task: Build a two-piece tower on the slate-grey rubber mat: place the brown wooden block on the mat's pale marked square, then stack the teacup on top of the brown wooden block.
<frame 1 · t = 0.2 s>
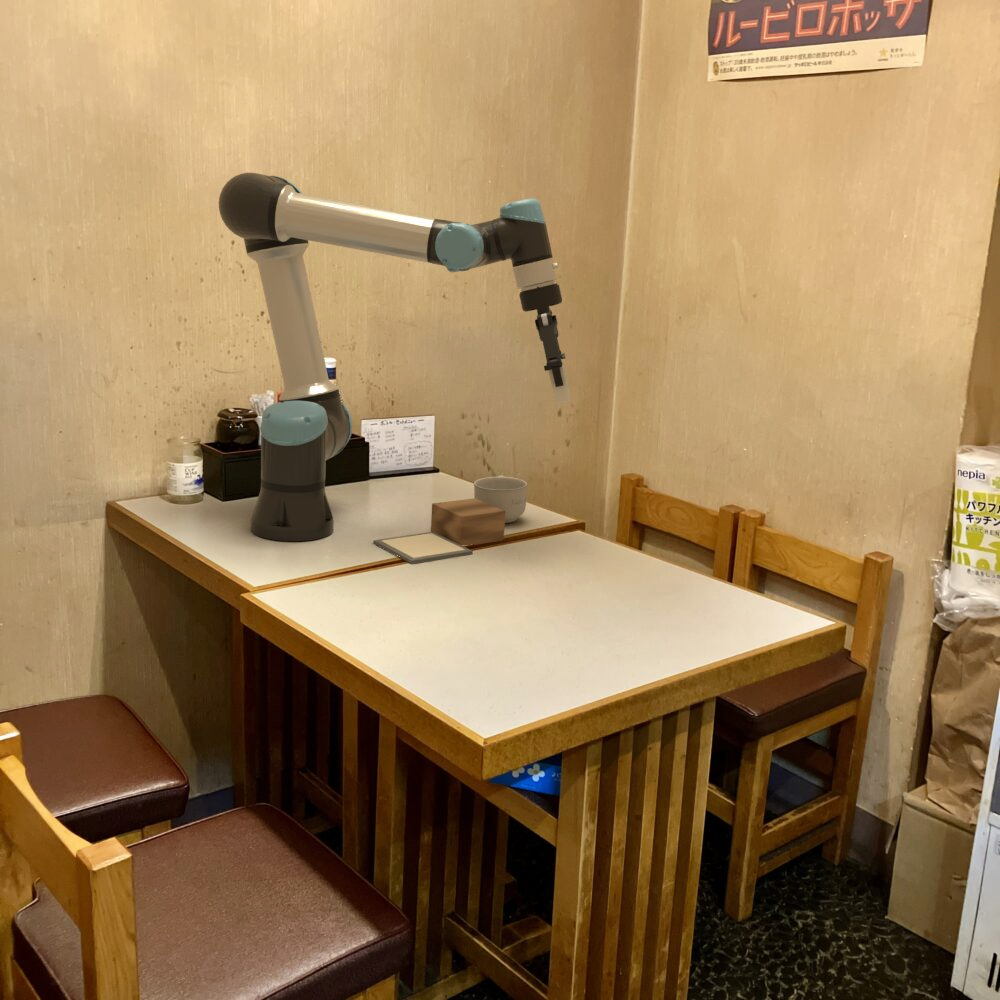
hand: (563, 399, 188), 27 cm above the table, tool tilted 15°, fingers open, 13 cm apart
brown wooden block: (466, 537, 191), on the table
mat: (422, 548, 181), on the table
teacup: (499, 518, 205), on the table
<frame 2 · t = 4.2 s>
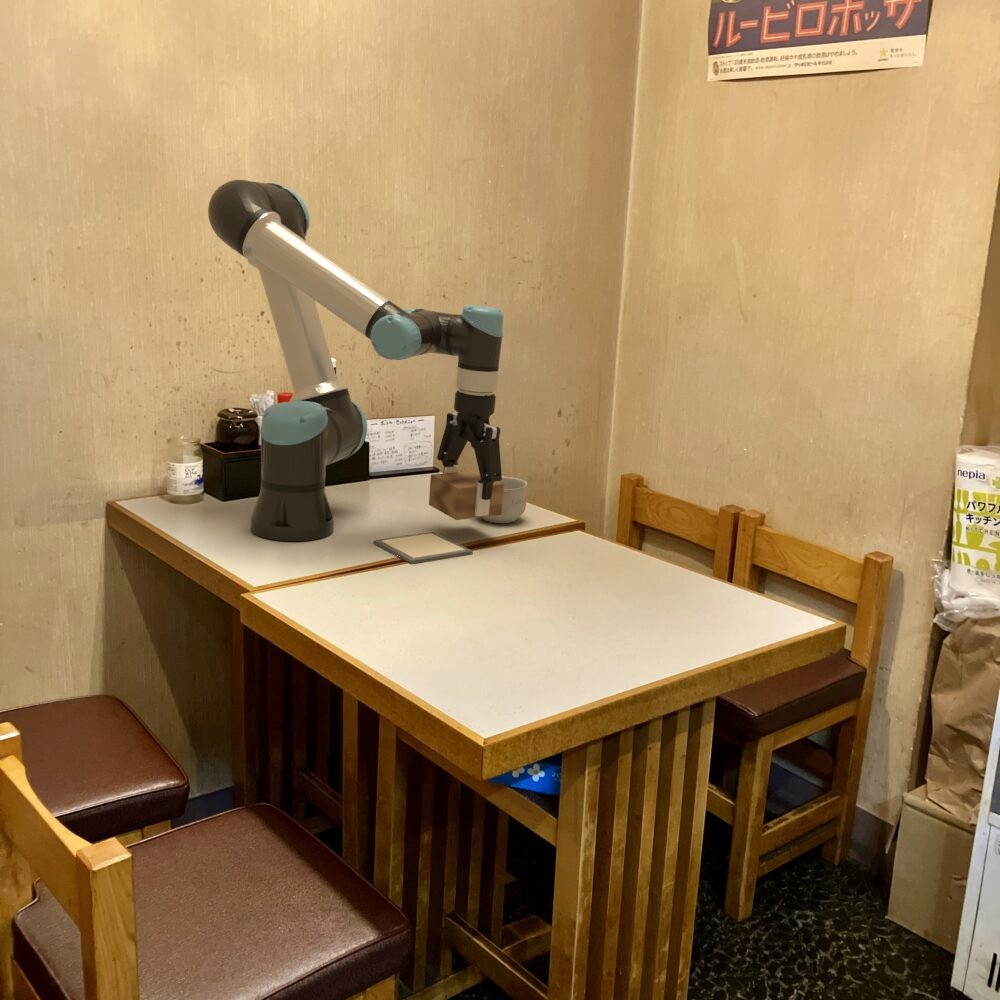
hand: (464, 507, 189), 6 cm above the table, tool pointing down, fingers closed on brown wooden block, 10 cm apart
brown wooden block: (464, 509, 189), point 5 cm above the table, touching gripper
everything else where it was.
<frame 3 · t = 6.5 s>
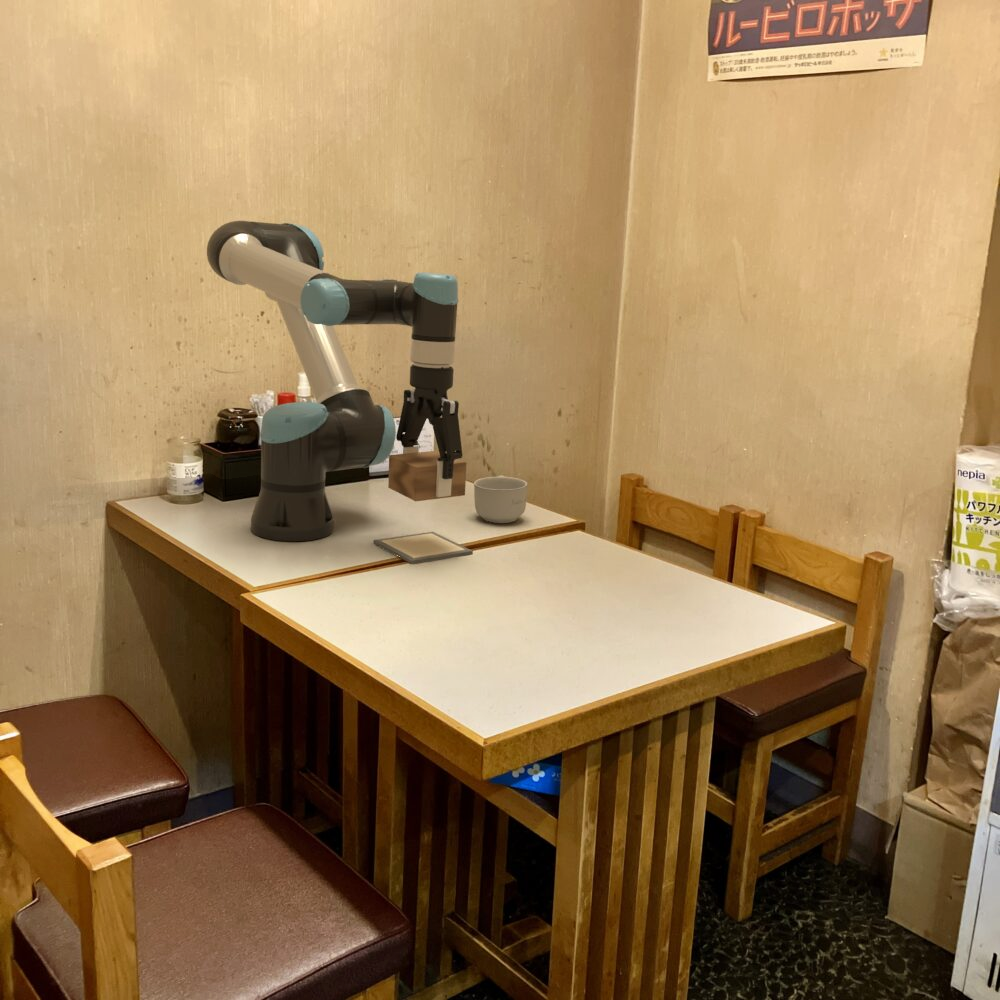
hand: (426, 488, 178), 11 cm above the table, tool pointing down, fingers closed on brown wooden block, 10 cm apart
brown wooden block: (426, 491, 178), point 11 cm above the table, touching gripper
everything else where it was.
when the fingers open (2 cm above the table, at t = 8.7 s): brown wooden block stays where it is, resting on mat.
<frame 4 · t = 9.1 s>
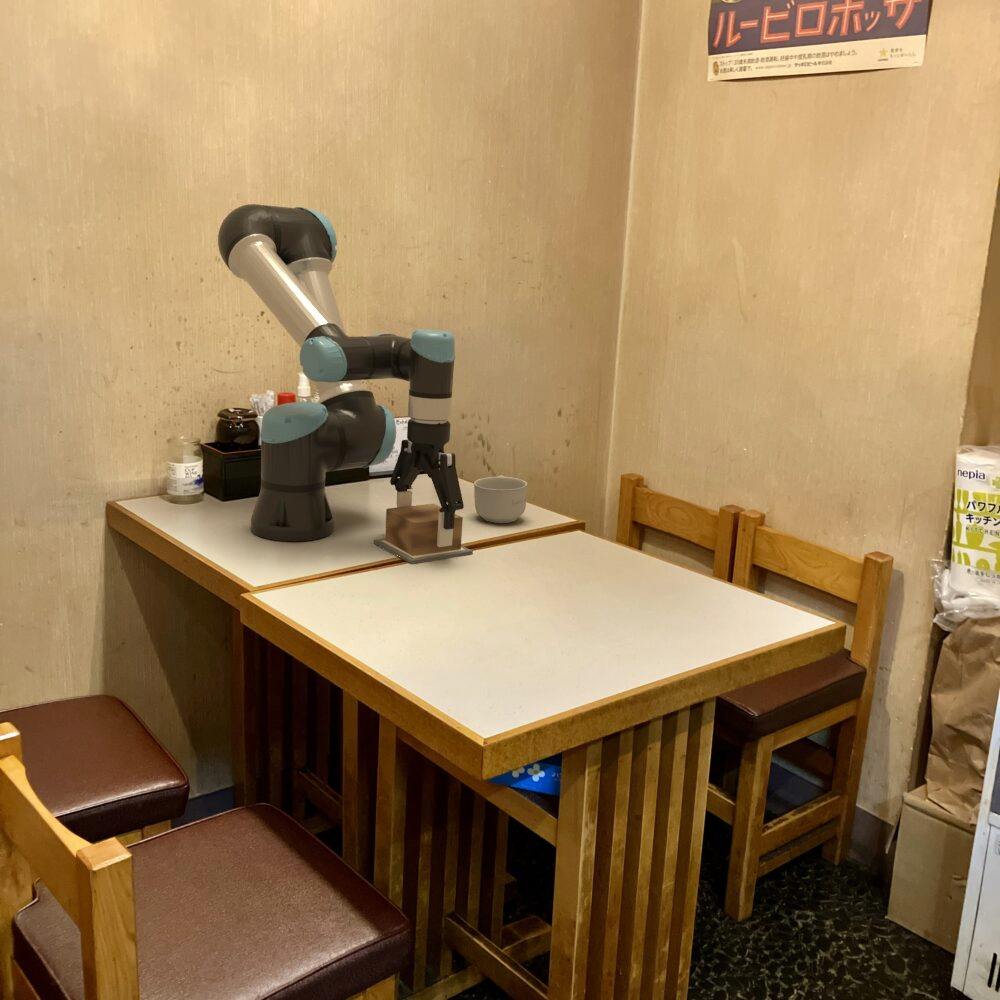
hand: (423, 535, 180), 2 cm above the table, tool pointing down, fingers open, 13 cm apart
brown wooden block: (422, 544, 181), point 1 cm above the table, touching mat
everything else where it was.
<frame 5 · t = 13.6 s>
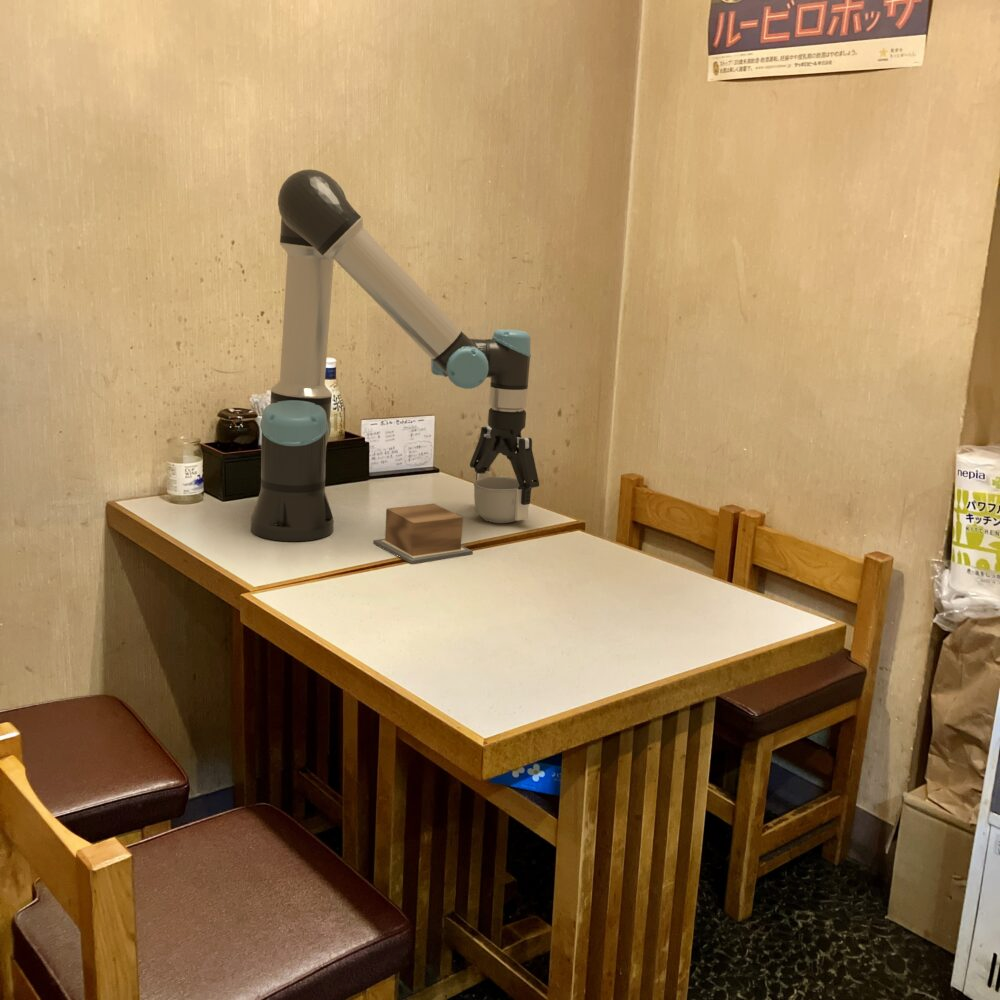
hand: (500, 511, 205), 1 cm above the table, tool pointing down, fingers open, 13 cm apart
teacup: (499, 518, 205), on the table, touching gripper
everything else where it was.
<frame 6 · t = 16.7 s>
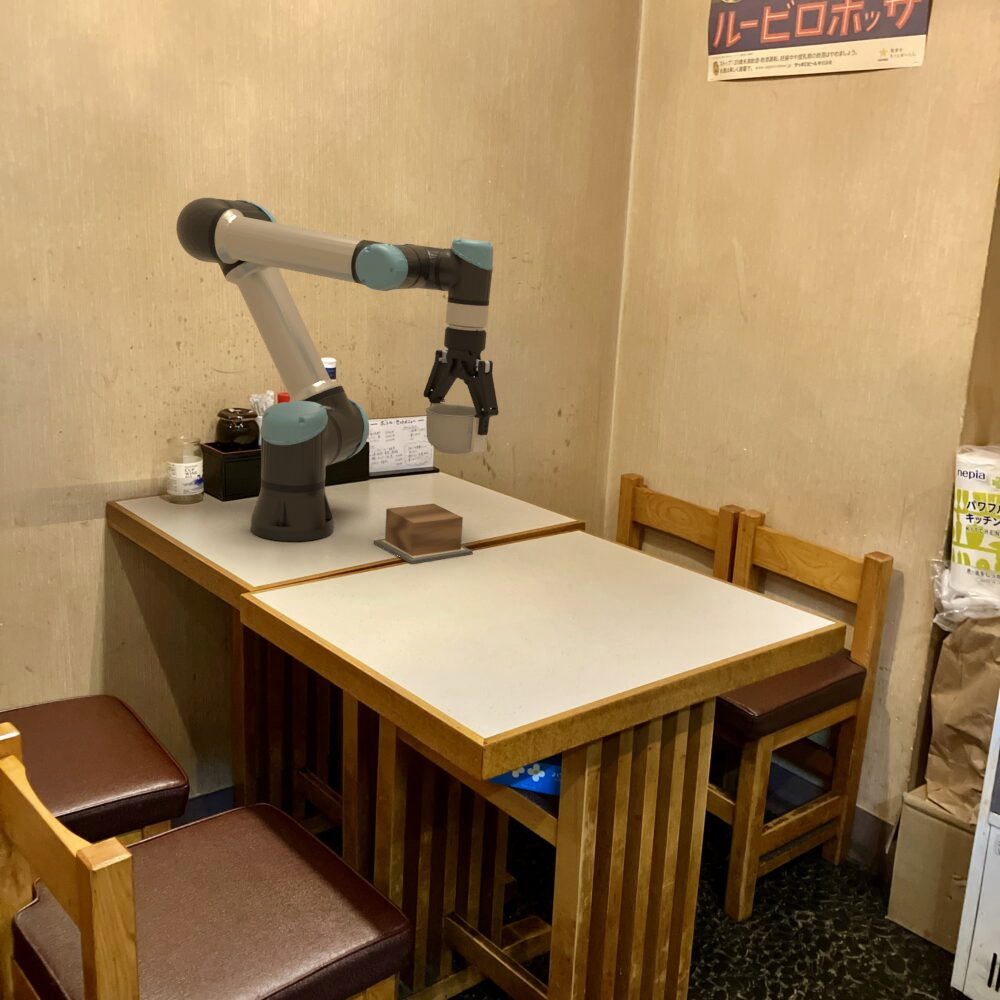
hand: (456, 444, 186), 18 cm above the table, tool pointing down, fingers closed on teacup, 12 cm apart
teacup: (453, 450, 187), point 16 cm above the table, touching gripper
everything else where it was.
when the fingers open (9 cm above the table, at t = 19.7 s): teacup stays where it is, resting on brown wooden block.
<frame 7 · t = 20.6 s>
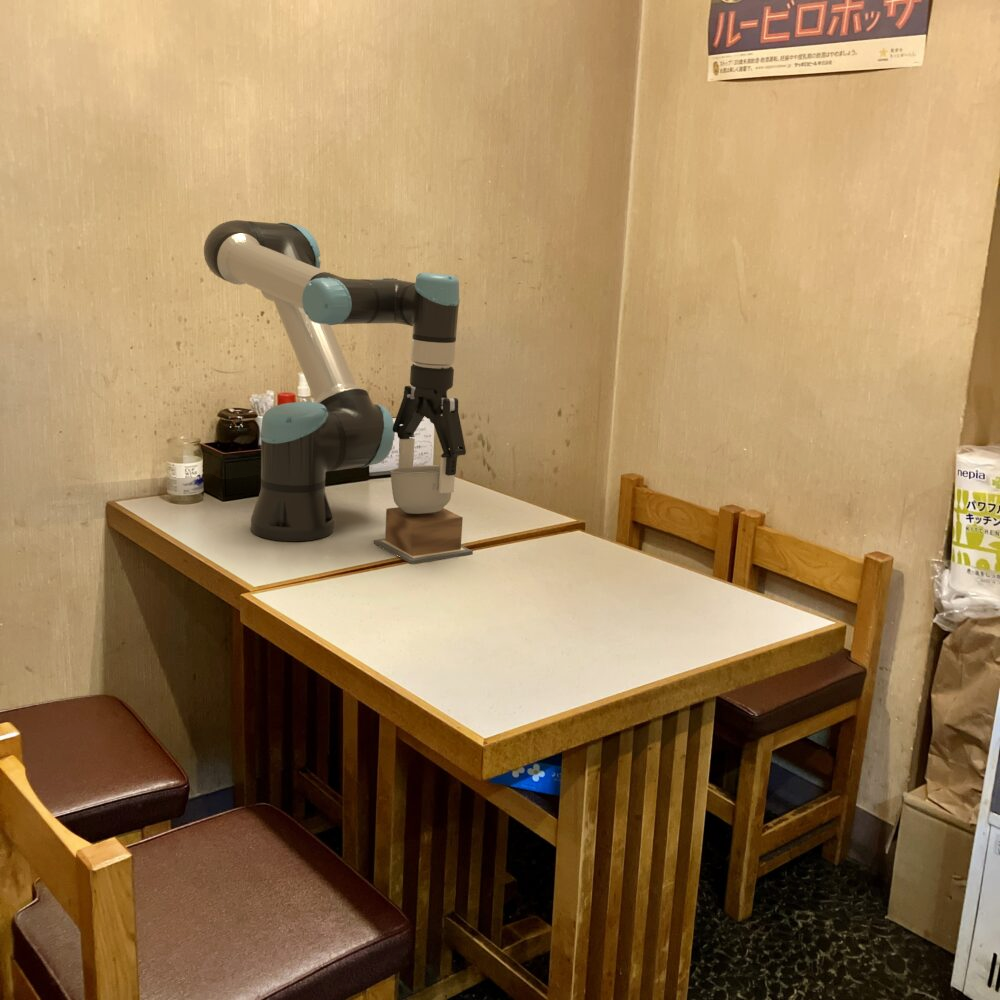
hand: (425, 482, 179), 12 cm above the table, tool pointing down, fingers open, 13 cm apart
brown wooden block: (422, 544, 181), point 1 cm above the table, touching mat, teacup
teacup: (423, 511, 179), point 7 cm above the table, touching brown wooden block
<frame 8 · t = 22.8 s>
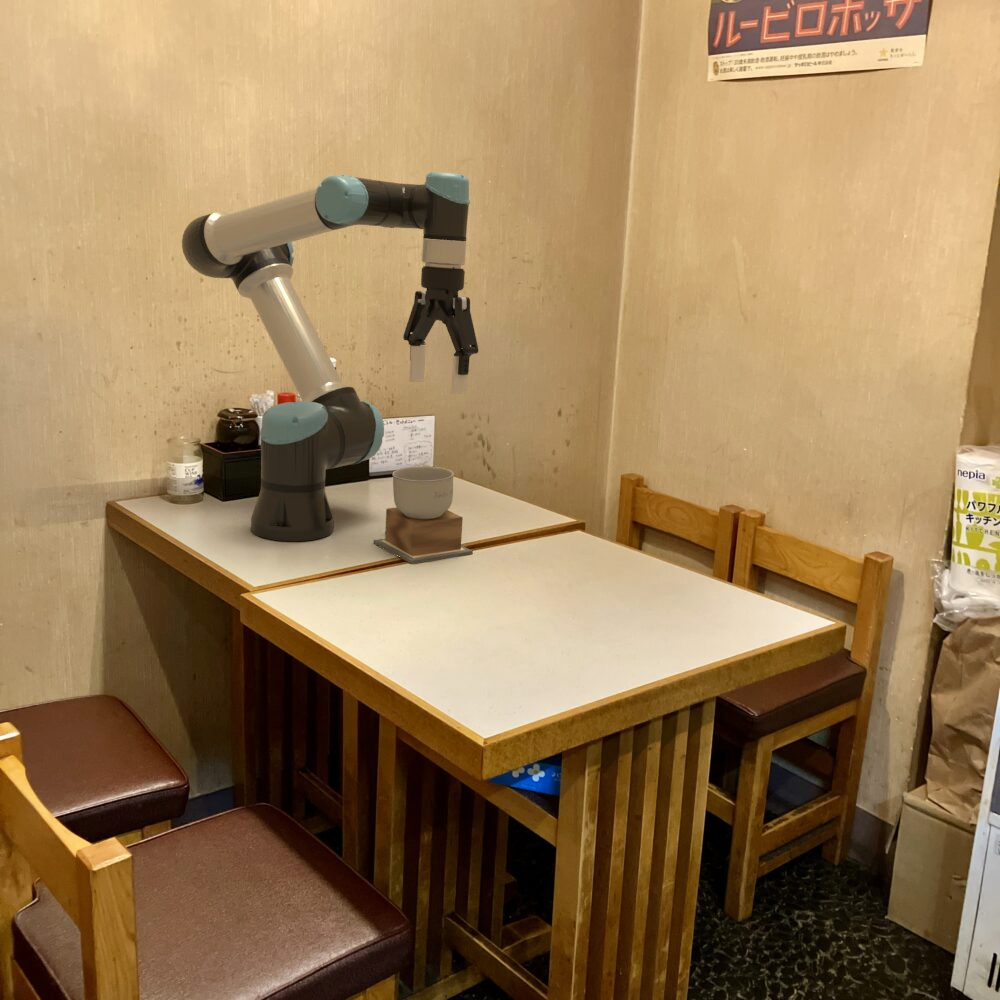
hand: (437, 387, 179), 29 cm above the table, tool pointing down, fingers open, 13 cm apart
at the end: brown wooden block inside the target area on the mat (0.1 cm from its centre), point 0.7 cm above the mat's base; teacup inside the target area on the brown wooden block (0.1 cm from its centre), point 5.8 cm above the brown wooden block's base; teacup tilted 0° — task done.
